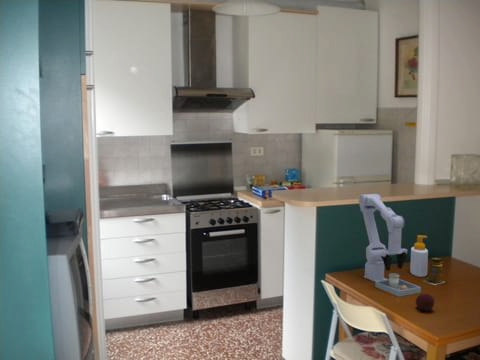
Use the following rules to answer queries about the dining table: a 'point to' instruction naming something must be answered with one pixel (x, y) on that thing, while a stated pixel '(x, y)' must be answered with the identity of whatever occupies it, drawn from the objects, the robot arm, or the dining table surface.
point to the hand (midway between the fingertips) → (393, 269)
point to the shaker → (394, 280)
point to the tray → (398, 292)
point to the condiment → (435, 271)
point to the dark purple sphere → (425, 302)
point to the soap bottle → (419, 258)
